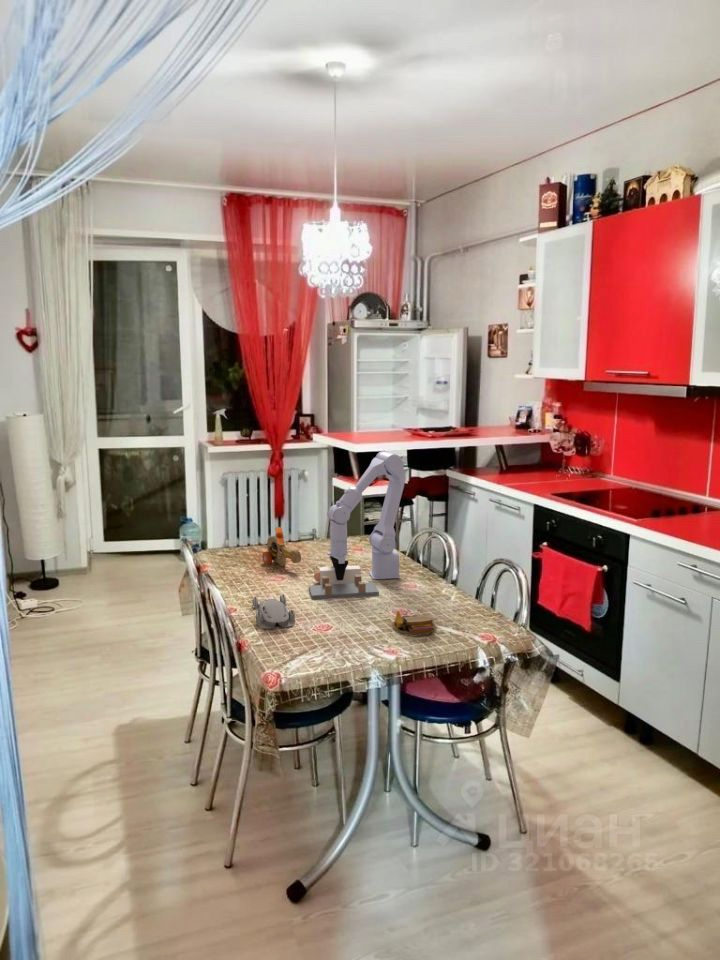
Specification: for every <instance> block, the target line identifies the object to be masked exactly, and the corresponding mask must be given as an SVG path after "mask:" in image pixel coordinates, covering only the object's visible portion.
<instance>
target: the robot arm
mask: <svg viewBox="0 0 720 960" xmlns="http://www.w3.org/2000/svg"><path fill="white" fill-rule="evenodd" d="M404 466H405V462H404V461H403V459H402V457H400V456H399V455H398V454H396V453H395V454H393V453H391V452H388V451H385V450H381V451H379V452H378V453H377V454H376V456H375V457H373V459H372V460H371V462H370V464H369V466H368V467H367V469H366V470H365V471H364V473H363V474H362V475H361V477H360V478H359V480H358V481H357V482H356V484H355V485H354V486H353V487H349V488H347V489H344V491H343V492H344V494H343V495H342V496H341V497H340V499H339V500H337V501H336V502H335V504H334V505H331V506H330V508H329V509H328V512H326V513H327V517H328V519H329V520H330V521H329V522H330V527H329V528H330V530H329V533H330V551H327V553H326V554H327V556H329V558H330V561H331V564H332V567H334V568H335V573H336V578H337V580H343V578H344V574H345V569H346V567H347V566H349V560H345V559H346V558H347V556H348V554H349V552H348V521H349V520H350V519H351V513H352V511H353V510H354V509H355V508H356V506H358V504H359V503H360V502H361V501H362V499H363V492H364V491H365V490H366V489H367V488H368V487H369V486H370V485H371V484H372V482H374V480H375V479H376V478H377V477H379V476H384V475H385V476H386V477H387V479H388V484H387V485H388V486H387V489H386V492H385V493H386V494H385V496H384V500H383V505H382V509H381V512H380V517H379V520H378V523H377V524H376V525H375V526H374V527H373V531H372V532H371V534H370V535H369V538H368V542H369V544H370V546H372V548H371V549H372V550H371V571H369V574H370V576H371V578H372V579H373V580H387V579H399V578H400V557H399V556H400V555H399V552H398V550H395V548H396V545H397V543H396V536H397V534H396V531H395V528H394V527H395V523H396V518H397V514H398V511H399V507H400V502H401V498H402V495H403V491H404V488H405V484H406V477H407V476H406V474H405V473H406V472H405V469H404Z"/></svg>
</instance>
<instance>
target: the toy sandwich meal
mask: <svg viewBox="0 0 720 960" xmlns="http://www.w3.org/2000/svg"><path fill="white" fill-rule="evenodd" d="M391 625H392V626H391V627H393V629H394V630H395V631H396V632H397V631H398V633H399V632H400V633H399V634H403V635H405V634H407V635H406V636H415V635H416V636H424V635H423V634H425V635H428V634H430V633H432V632H434V631H436V627H437V626H436V623H435V622H434V621H433V619H432V618H430V617H429V616H428V615H425V614H424V615H416V614H415V615H407V614H405V615H401V613H400V611H399V610H397V612H396V614H395V620H394V621H393V622H392V624H391ZM431 631H432V632H431ZM429 632H430V633H429ZM427 633H428V634H427Z"/></svg>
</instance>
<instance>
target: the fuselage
mask: <svg viewBox="0 0 720 960" xmlns="http://www.w3.org/2000/svg"><path fill="white" fill-rule="evenodd" d="M361 569H362V568H361V566H360V565H347V567H346V569H345V574H344V578H343V580H337V578H336V573H335V568H334V567H333V566H323V567H322V566H321V567H320V566H319V567H318V570H316V571H315V572H314V574H313V578H314V580H315V581H316V582H318V583H319V584H320V585H322V576H328V577H329V584H330V583H331V585H332V584H351V583H355V578H354V575H356V574H360V575H361V576H362V574H361V573H362V572H361V571H362V570H361Z"/></svg>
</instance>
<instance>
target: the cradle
mask: <svg viewBox="0 0 720 960" xmlns="http://www.w3.org/2000/svg"><path fill="white" fill-rule="evenodd" d="M354 578H355V583H346V584H331V583H330V584H329V577H328V576H322V585H319V584H317V585H308V590H309V594H310V597H311V600H319V599H320V600H322V599H323V598H324V599H339V598H355V597H371V596H374V597H376V596H380V591H379V589H378V587H377V586H376V584H375V582H374V581H373V582H372V581H371V582H365V581H362V574H361V575H360V574H356V575H354Z"/></svg>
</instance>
